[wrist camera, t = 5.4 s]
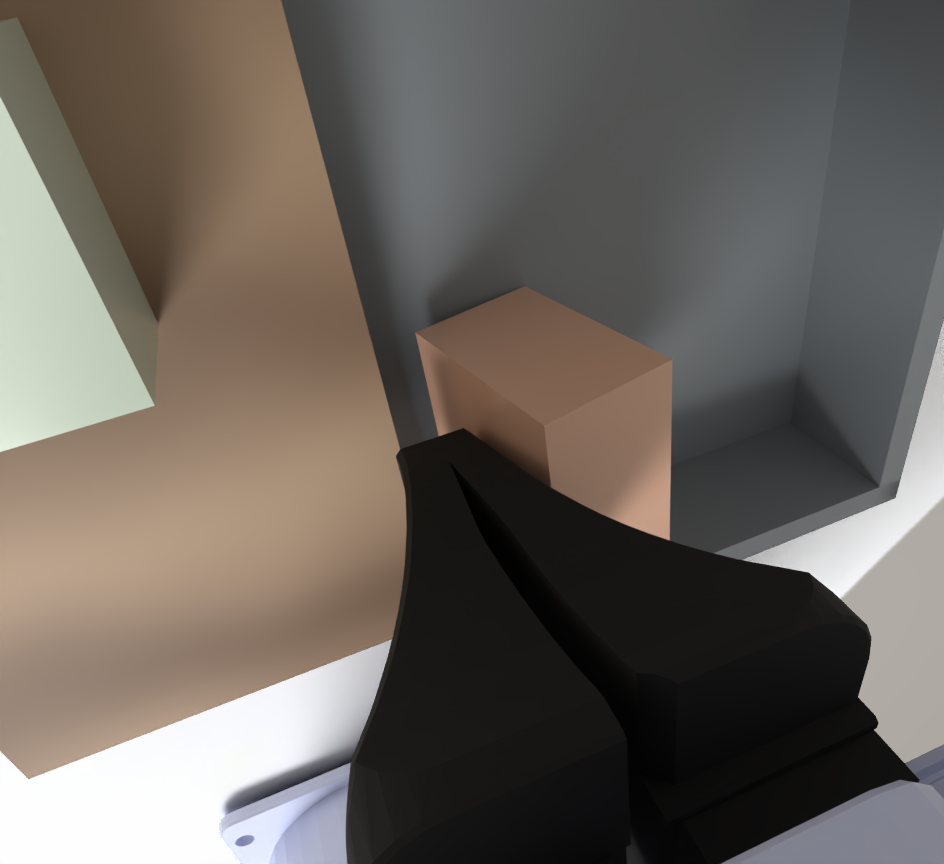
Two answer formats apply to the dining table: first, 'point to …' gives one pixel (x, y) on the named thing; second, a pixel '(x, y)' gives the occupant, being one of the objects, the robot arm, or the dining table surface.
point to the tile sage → (60, 274)
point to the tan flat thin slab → (199, 399)
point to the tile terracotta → (559, 402)
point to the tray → (661, 216)
